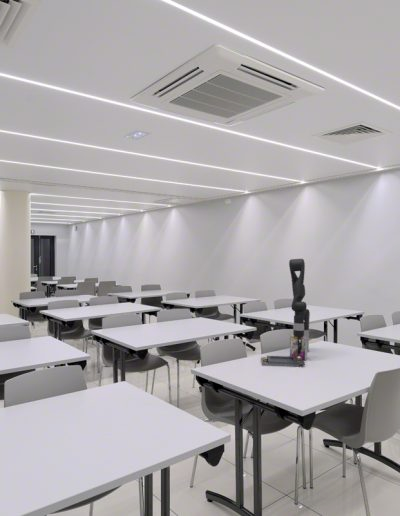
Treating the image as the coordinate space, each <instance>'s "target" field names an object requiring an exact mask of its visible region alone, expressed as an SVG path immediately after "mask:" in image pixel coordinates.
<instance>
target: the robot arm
mask: <svg viewBox="0 0 400 516" xmlns="http://www.w3.org/2000/svg"><path fill="white" fill-rule="evenodd" d="M288 264H289V265H288V266H289V273H290V277H291V285H292V296H293V300H292V303H291V310H292V311H293V312H294V315H293V330H292V331H293V333H292V334H293V335H294V336H297V337H298V342H297V348H298V354H301V348H302V340H301V336H303V337H307V353H309V352H308V351H309V349H310V348H309V346H310V344H309V343H310V342H309V341H310V318H311V317H310V315H311V314H310V313H311V312H310V310H309V309H308V308H307V305H308V304H307V303H306V302H305V301H303V299H305V295H306V287H305V283H304V282H305V270H306V267H305V266H306V265H305V264H306V263H305V260H304V258H292V259H289V262H288ZM296 272H299V275H297V274H296ZM296 341H297V340H296ZM299 345H300V346H299Z"/></svg>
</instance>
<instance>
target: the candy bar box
mask: <svg viewBox="0 0 400 516" xmlns="http://www.w3.org/2000/svg"><path fill="white" fill-rule="evenodd" d="M289 340H290V341H289V344H290V345H289V346H290V347H289V356H293V357H297V356H301V358H302V359H303V361H304V362H305V361H306V360H307V359H308V352H307V337H303V336H301V340H302V348H301V354H298V348H297V342H298V337H297V336H294V335H290V339H289ZM296 340H297V341H296ZM299 346H300V345H299Z"/></svg>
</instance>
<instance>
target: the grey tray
mask: <svg viewBox="0 0 400 516" xmlns="http://www.w3.org/2000/svg"><path fill="white" fill-rule="evenodd" d="M260 361H261V365H262V367H263V366H267V367H270V366H271V367H289V368H290V367H292V368H293V367H294V368H299V366H303V365H304V366H305V361H304V360H303V359H302V358H301V356H297V357H293V356H290V355H289V356H288V355H287V356H286V355H284V356H283V355H266V356H263V357H260Z"/></svg>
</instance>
